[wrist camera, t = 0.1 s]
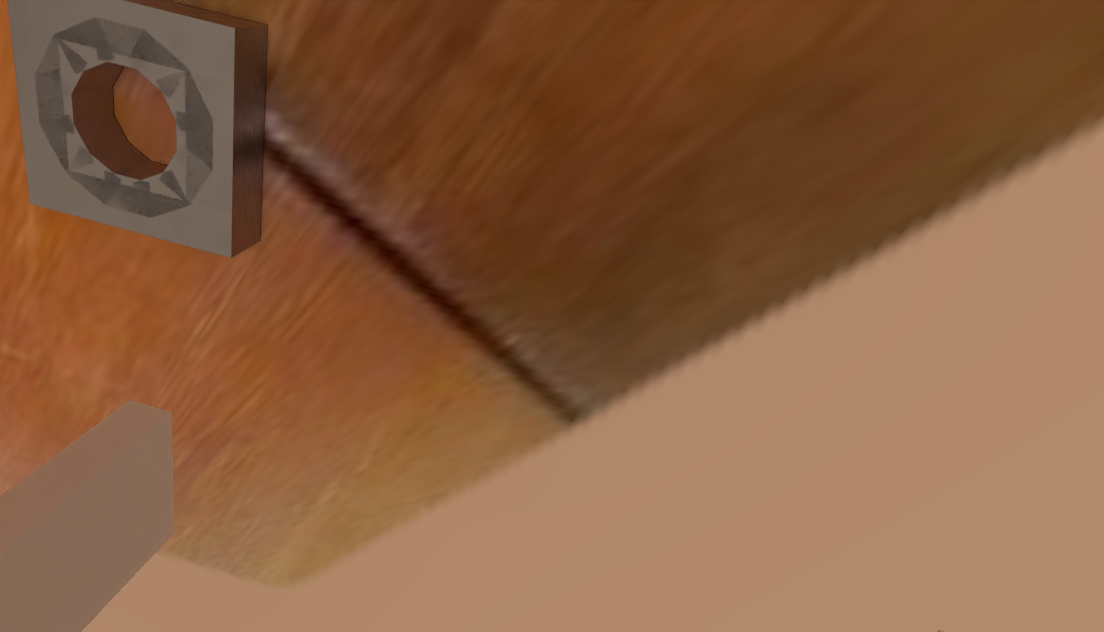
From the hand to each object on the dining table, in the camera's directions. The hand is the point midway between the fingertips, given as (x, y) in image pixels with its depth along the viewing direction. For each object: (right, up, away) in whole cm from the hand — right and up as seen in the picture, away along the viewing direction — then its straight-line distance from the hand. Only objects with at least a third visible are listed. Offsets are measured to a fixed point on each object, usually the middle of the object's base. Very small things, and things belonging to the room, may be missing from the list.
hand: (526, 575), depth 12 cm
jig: (-21, +16, +28) cm, 38 cm away
